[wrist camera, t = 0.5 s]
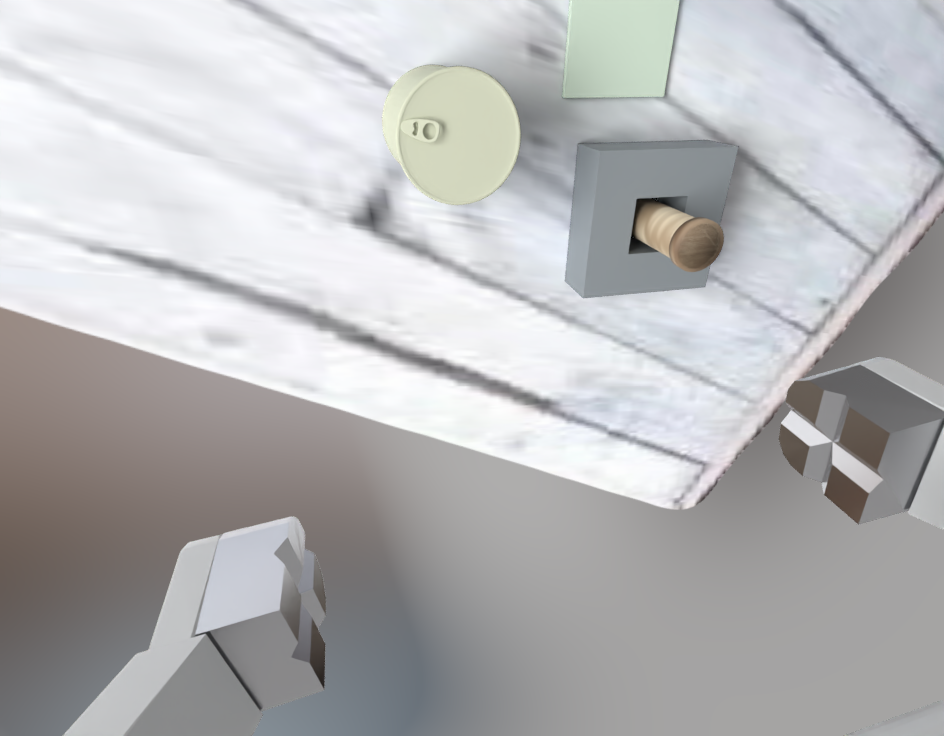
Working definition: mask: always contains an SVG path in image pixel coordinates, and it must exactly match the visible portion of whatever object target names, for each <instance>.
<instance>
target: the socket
mask: <svg viewBox="0 0 944 736" xmlns="http://www.w3.org/2000/svg"><path fill="white" fill-rule="evenodd" d="M738 147H739V146H734V145H729V144H724V143H719V142H714V141H710V140H687V141H654V142H622V143H589V144H578V149H577V159H576V170H575V180H574V191H573V201H572V212H571V222H570V233H569V243H568V254H567V264H566V275H565V282H566V283H567V284H569V285H570V286H571V287H572V288H573V289H574V290H575V291H576V292H577V293H578V294H579V295H580V296H581V297H582V298H591V297H602V296H613V295H624V294H635V293H646V292H657V291H668V290H679V289H690V288H701V287H705V285H706V281H707V277H708V273H709V269H710V265H709V266H708V267H706V268H705V269H703V270H700V271H697V272H687V271H684V270H682V269H681V268H679V267H677V266H676V265H675V264H674V263H673V262H672V261H671V259H670V258H669V257H667V256H666V255H664V254H662V253H660V252H659V251H657V250H655V249H654V248H652V247H650V246H648V245H647V244H645V243H643V242H642V241H640V240H638V239H636V238H631V233H632V226H633V220H634V213H635V207H636V200H637V199H639V198H658V197H659V198H658V202H660V203H662V204H665V205H667V206H669V207H672V208H674V209H676V210H679V211H681V212H683V213H686V214H688V215H690V216H693V217H704V218H707V219H709V220H712V221H714V222H716V223H717V224H719V226H720V222H721V218H722V214H723V210H724V206H725V202H726V197H727V193H728V189H729V185H730V181H731V176H732V172H733V168H734V164H735V160H736V155H737V151H738Z"/></svg>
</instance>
